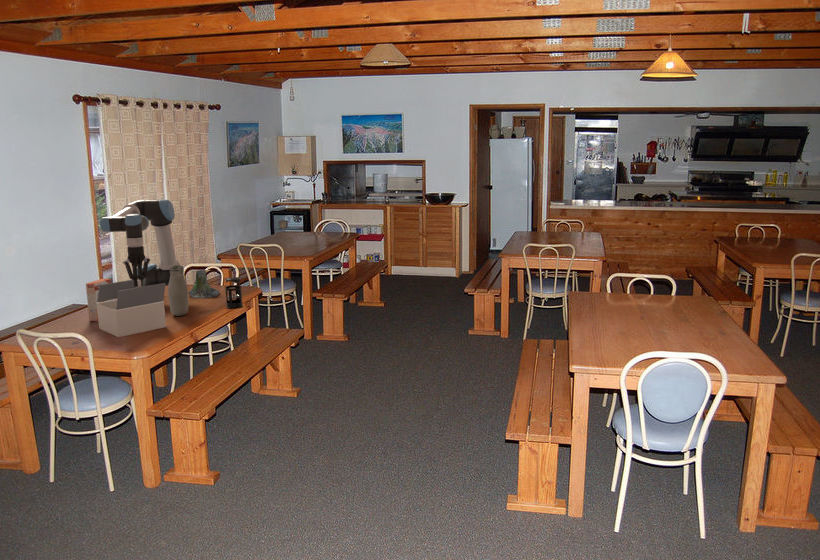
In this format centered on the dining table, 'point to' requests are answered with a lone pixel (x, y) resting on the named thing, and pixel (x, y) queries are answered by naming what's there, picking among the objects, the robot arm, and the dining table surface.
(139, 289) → the flap
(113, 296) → the flap
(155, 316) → the carton
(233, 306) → the black lantern
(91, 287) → the cracker box
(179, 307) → the grey bottle
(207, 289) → the tree stump
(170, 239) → the robot arm
